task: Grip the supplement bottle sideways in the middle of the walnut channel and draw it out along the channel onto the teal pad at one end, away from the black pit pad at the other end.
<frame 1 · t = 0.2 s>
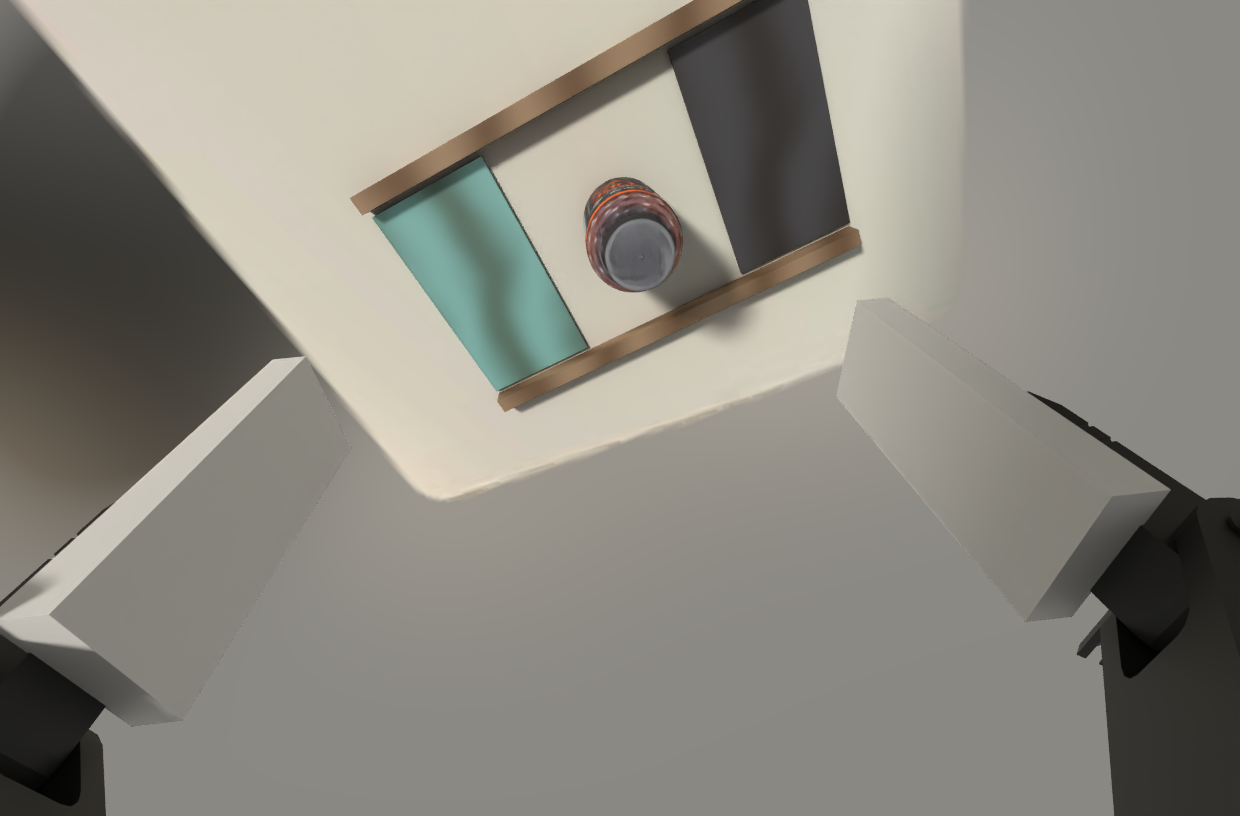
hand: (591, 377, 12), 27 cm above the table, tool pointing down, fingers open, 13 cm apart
channel track: (622, 219, 36), on the table
supplement bottle: (621, 218, 36), on the table
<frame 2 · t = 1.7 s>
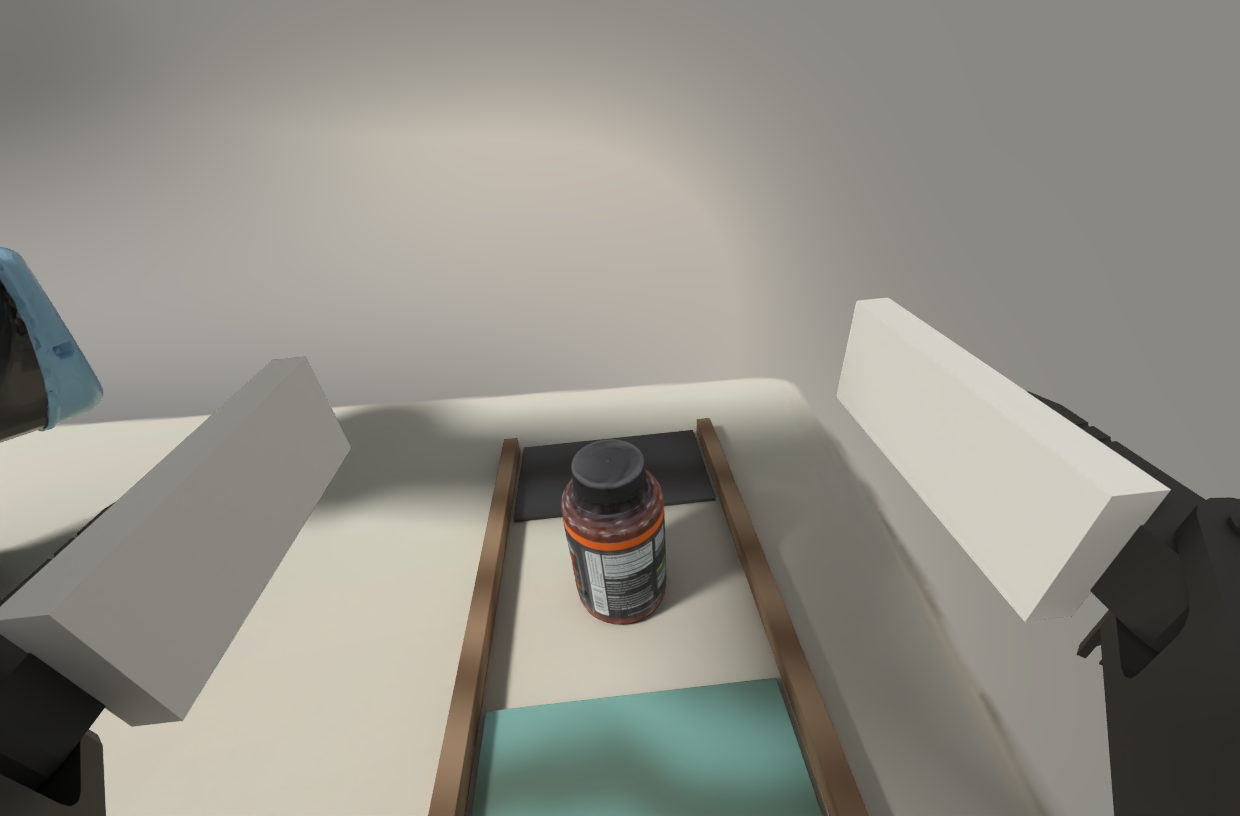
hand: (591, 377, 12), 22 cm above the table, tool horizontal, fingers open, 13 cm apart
channel track: (622, 587, 32), on the table
supplement bottle: (622, 589, 32), on the table
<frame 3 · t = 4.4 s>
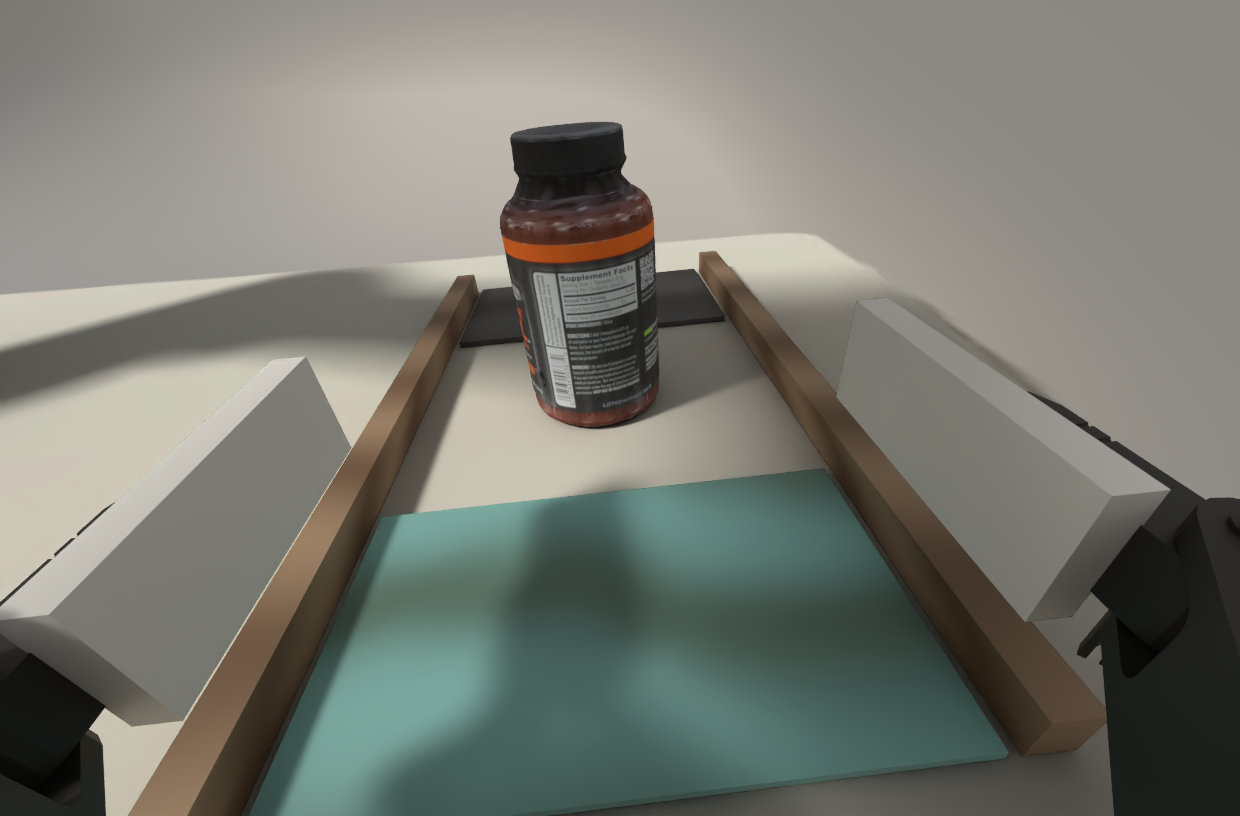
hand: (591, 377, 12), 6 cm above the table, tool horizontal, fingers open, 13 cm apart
channel track: (598, 395, 23), on the table
supplement bottle: (598, 399, 23), on the table
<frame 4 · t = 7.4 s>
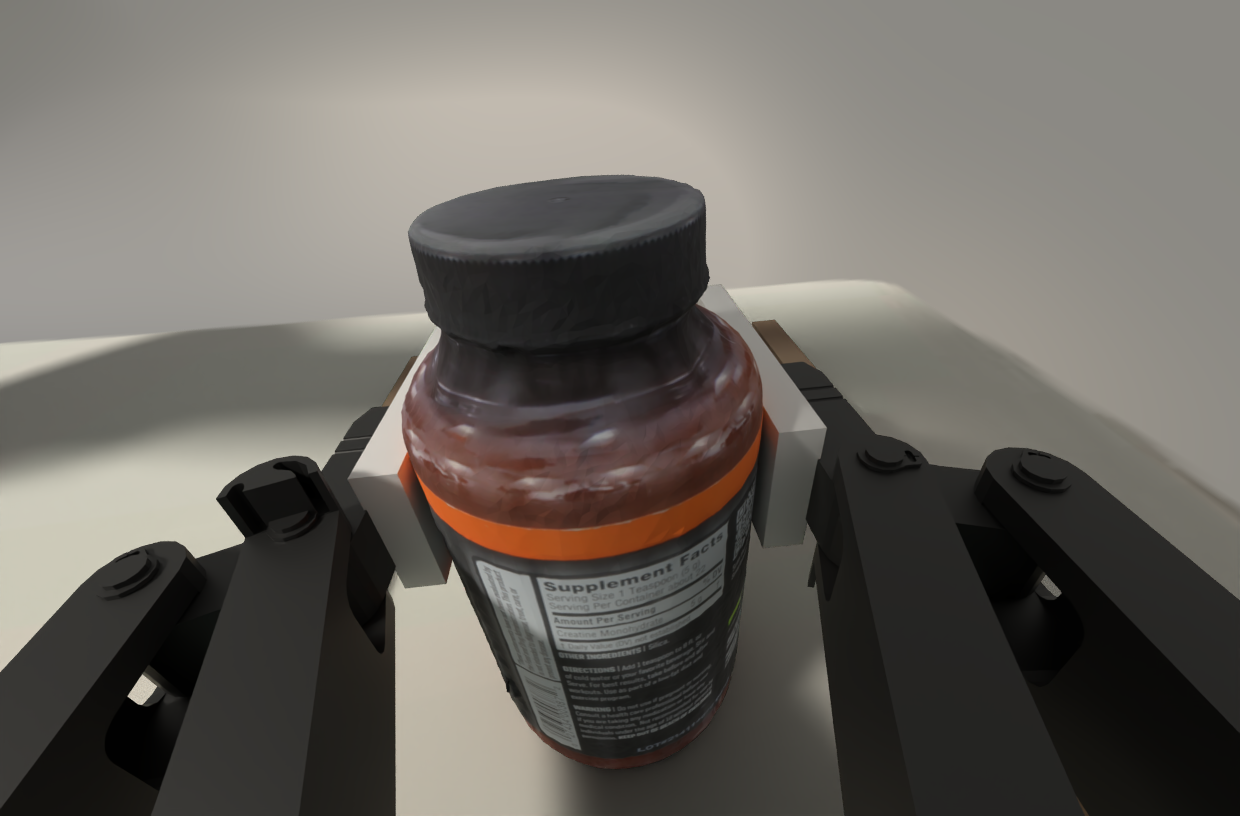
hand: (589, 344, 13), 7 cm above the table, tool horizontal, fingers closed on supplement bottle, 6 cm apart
channel track: (620, 648, 13), on the table
supplement bottle: (621, 652, 13), on the table, touching gripper
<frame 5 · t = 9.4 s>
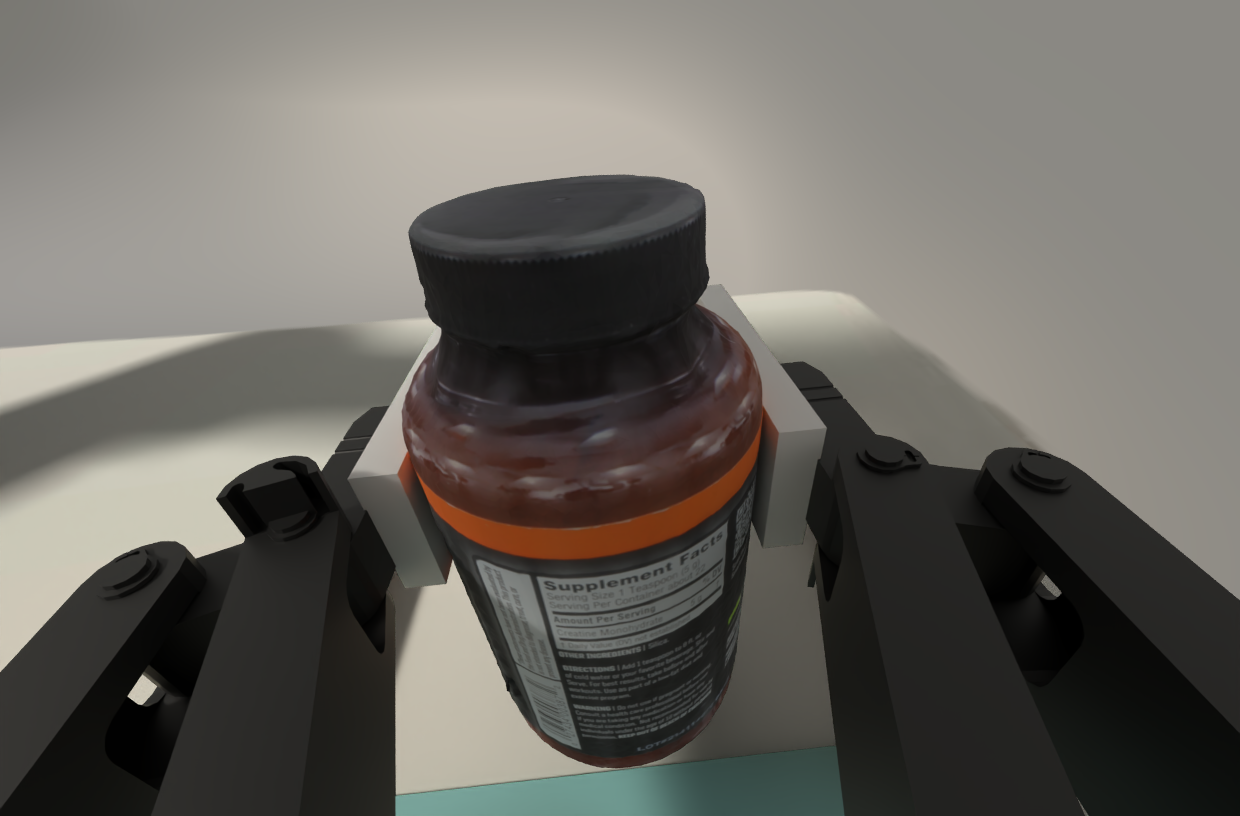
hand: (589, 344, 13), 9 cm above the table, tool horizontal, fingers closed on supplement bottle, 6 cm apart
channel track: (607, 558, 18), on the table
supplement bottle: (621, 652, 13), point 2 cm above the table, touching gripper
when the fingers open (7 cm above the table, at t = 11.5 s): supplement bottle stays where it is, resting on channel track.
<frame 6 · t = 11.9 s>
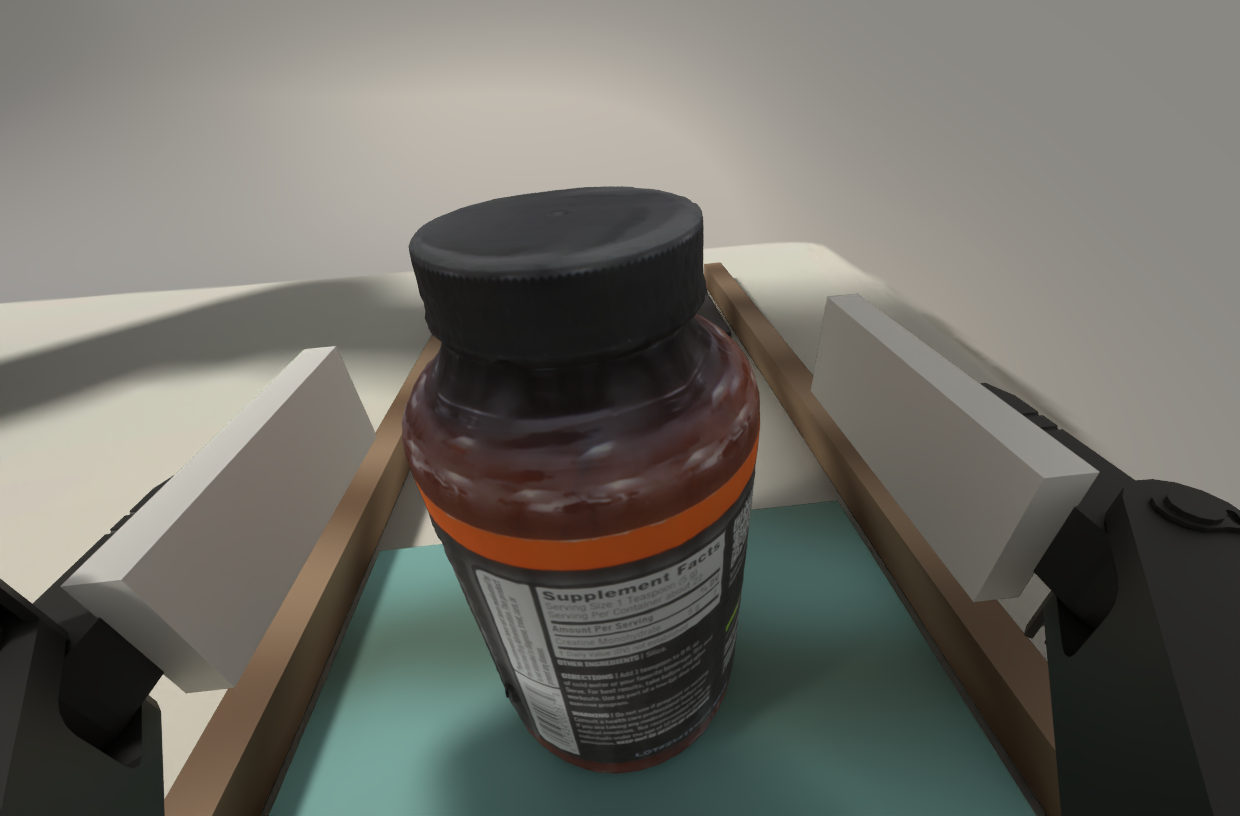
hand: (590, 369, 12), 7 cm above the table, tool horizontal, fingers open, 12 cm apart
channel track: (602, 417, 23), on the table
supplement bottle: (619, 656, 13), resting on channel track
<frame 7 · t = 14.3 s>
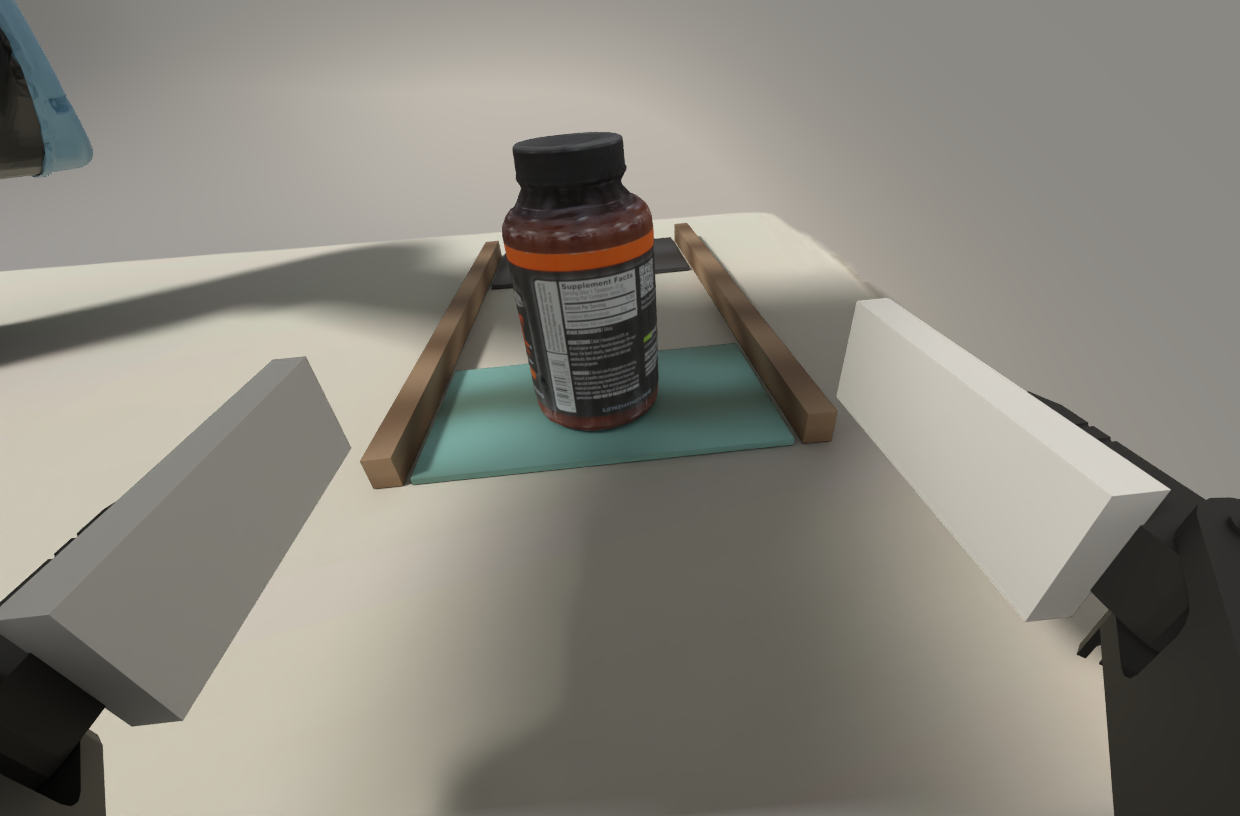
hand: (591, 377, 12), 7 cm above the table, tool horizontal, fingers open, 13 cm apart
channel track: (593, 313, 33), on the table
supplement bottle: (598, 403, 24), resting on channel track
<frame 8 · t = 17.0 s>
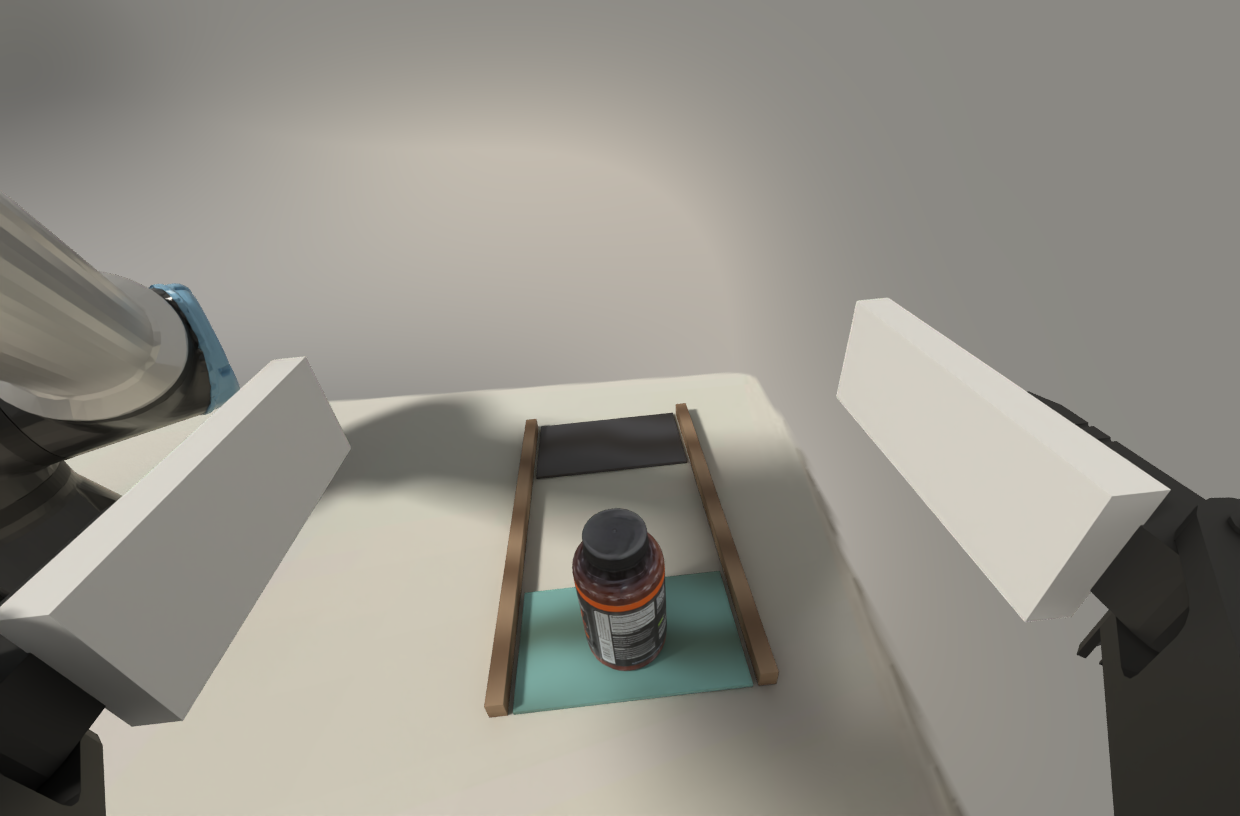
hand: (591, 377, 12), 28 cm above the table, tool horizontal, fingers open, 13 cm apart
channel track: (616, 520, 45), on the table
supplement bottle: (626, 635, 36), resting on channel track
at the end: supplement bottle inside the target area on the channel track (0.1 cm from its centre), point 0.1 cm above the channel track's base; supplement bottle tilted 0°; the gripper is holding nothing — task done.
